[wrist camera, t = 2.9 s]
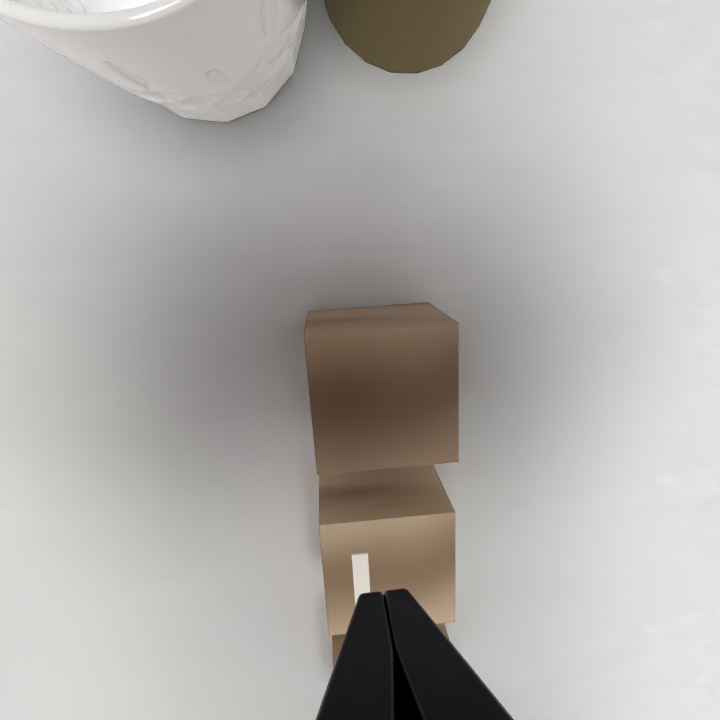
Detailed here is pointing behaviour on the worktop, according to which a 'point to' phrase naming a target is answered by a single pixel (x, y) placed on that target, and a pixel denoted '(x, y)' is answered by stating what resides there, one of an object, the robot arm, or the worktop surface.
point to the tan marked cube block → (386, 540)
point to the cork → (406, 30)
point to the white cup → (175, 47)
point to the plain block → (382, 387)
